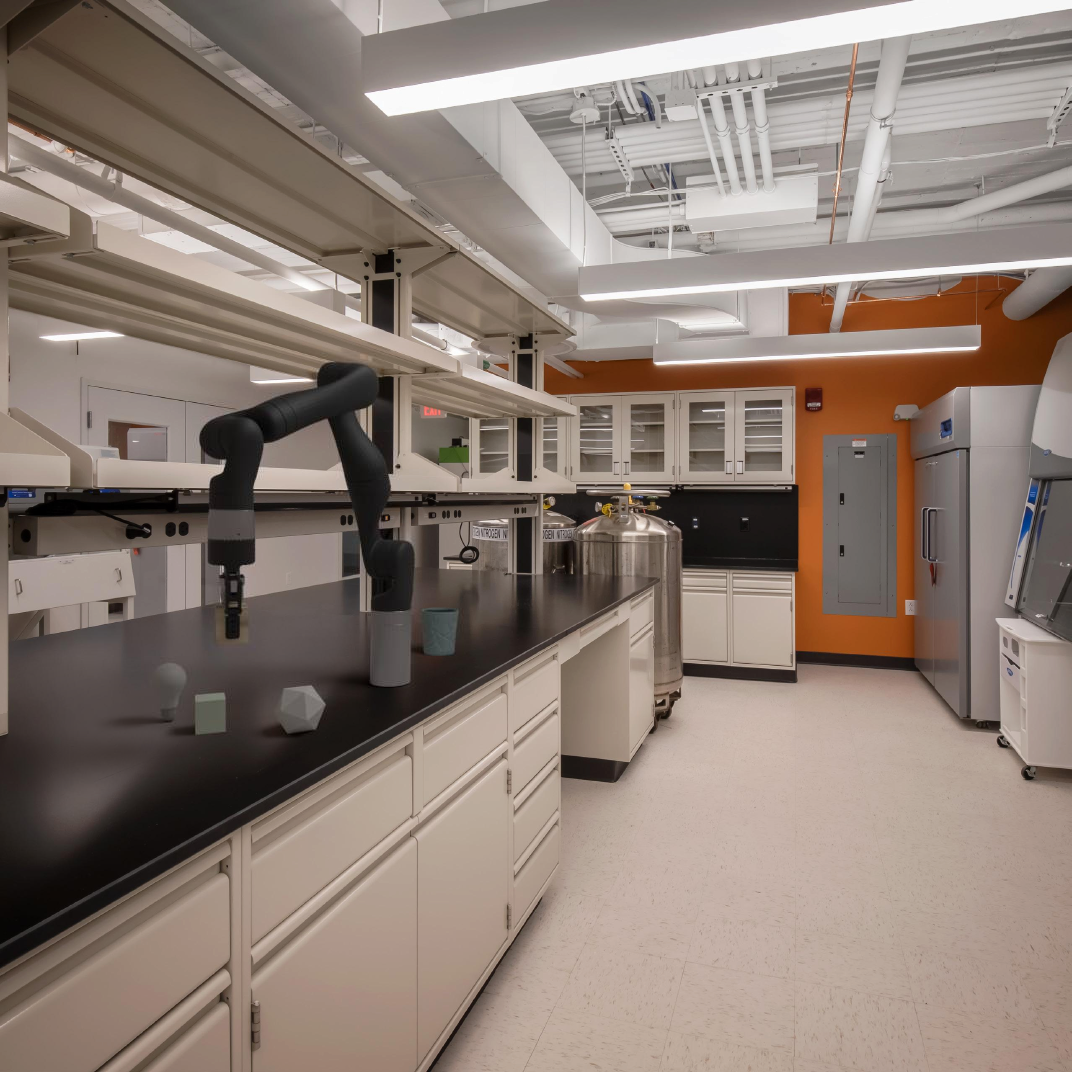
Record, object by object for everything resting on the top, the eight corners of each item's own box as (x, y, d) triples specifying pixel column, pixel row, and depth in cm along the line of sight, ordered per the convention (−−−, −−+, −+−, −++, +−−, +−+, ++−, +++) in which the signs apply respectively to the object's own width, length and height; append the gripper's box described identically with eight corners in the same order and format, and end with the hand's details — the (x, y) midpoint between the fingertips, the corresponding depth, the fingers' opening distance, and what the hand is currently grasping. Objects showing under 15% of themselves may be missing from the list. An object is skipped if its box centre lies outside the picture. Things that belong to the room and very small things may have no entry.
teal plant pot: (414, 654, 204) (415, 610, 203) (431, 647, 213) (431, 606, 213) (448, 657, 201) (449, 613, 200) (463, 650, 210) (464, 608, 210)
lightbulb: (192, 720, 141) (192, 663, 140) (158, 727, 136) (158, 668, 136) (178, 713, 145) (178, 658, 144) (145, 720, 140) (145, 663, 140)
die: (318, 723, 143) (288, 683, 142) (342, 709, 138) (310, 668, 137) (288, 749, 137) (256, 708, 136) (312, 736, 132) (279, 693, 131)
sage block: (195, 726, 137) (195, 694, 137) (224, 723, 140) (224, 692, 139) (195, 735, 133) (195, 702, 133) (225, 731, 135) (225, 699, 135)
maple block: (215, 639, 128) (215, 604, 127) (246, 637, 130) (246, 603, 130) (216, 644, 123) (216, 608, 123) (248, 642, 125) (248, 607, 125)
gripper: (258, 538, 121) (258, 642, 122) (251, 533, 134) (251, 627, 135) (208, 539, 118) (208, 645, 119) (206, 533, 131) (206, 629, 132)
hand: (231, 635), depth 127 cm, fingers closed on maple block, 5 cm apart
